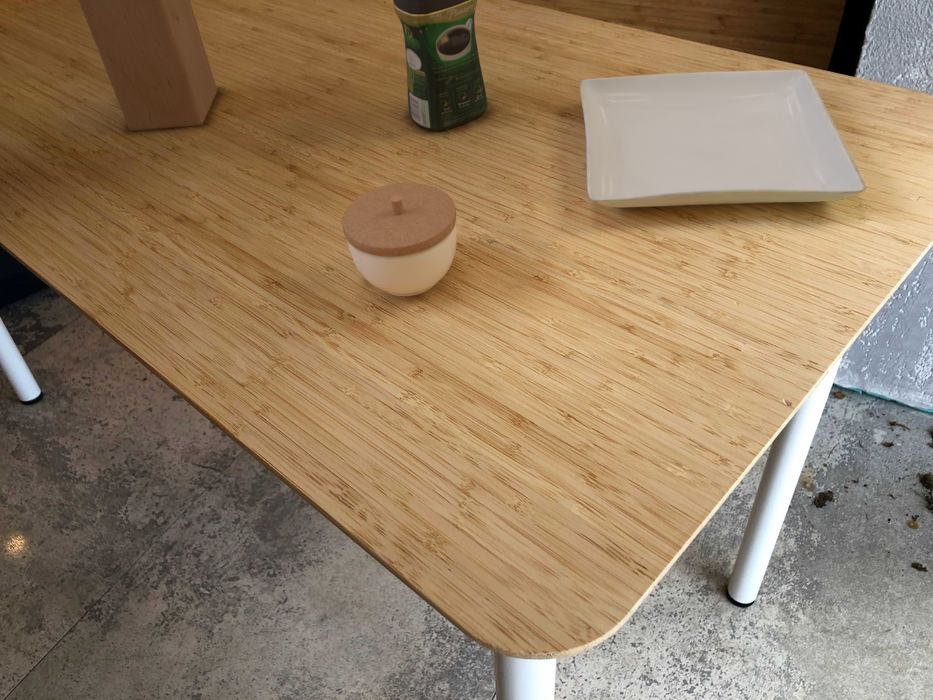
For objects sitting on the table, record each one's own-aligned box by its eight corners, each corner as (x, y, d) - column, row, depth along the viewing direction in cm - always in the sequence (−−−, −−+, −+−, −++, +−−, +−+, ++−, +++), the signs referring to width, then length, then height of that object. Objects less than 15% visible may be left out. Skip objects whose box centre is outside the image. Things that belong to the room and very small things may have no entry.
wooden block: (203, 127, 112) (152, -30, 98) (129, 133, 112) (67, -23, 98) (218, 91, 119) (173, -59, 105) (149, 97, 119) (94, -52, 106)
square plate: (862, 220, 85) (871, 187, 82) (587, 229, 88) (587, 197, 85) (802, 93, 105) (808, 62, 102) (578, 103, 107) (578, 74, 105)
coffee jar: (464, 92, 112) (450, -55, 100) (496, 115, 107) (486, -38, 94) (400, 116, 109) (377, -34, 96) (430, 140, 104) (411, -14, 91)
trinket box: (387, 328, 79) (371, 247, 73) (338, 272, 86) (319, 194, 80) (483, 284, 83) (476, 203, 76) (428, 233, 90) (417, 155, 83)
